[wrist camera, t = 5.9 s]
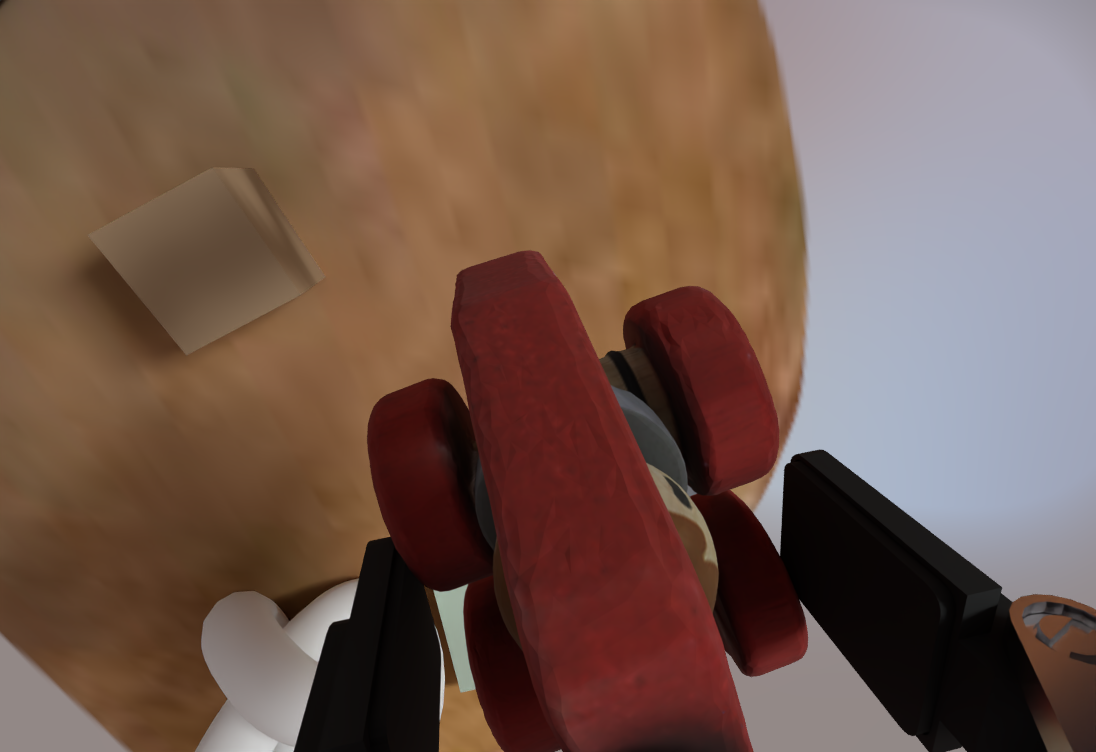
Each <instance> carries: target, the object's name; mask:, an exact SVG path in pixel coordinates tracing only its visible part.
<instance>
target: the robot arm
mask: <svg viewBox="0 0 1096 752" xmlns="http://www.w3.org/2000/svg"><path fill="white" fill-rule="evenodd" d="M0 1H1V0H0ZM780 557H781V559H782V561H783V563H784V565H785V567H786V569H787V571H788V574H789V576H790V578H791V581H792V583H793V585H794V588H795V590H796V592H797V594H798V598H799V600H800V601H801V602H802V603H803V605H804V606H805V607H806V608H807V609H808V611H809V612H810V613H811V615H812V616H813V617H814V618H815V620H816V621H817V622H818V624H819V625H820V626H821V627H822V629H823V630H824V631H825V633H826V634H827V635H828V636H829V638H830V639H831V640H832V641H833V643H834V644H835V645H836V646H837V648H838V649H839V650H840V651H841V653H842V654H843V655H844V656H845V658H846V659H847V660H848V661H849V663H850V664H851V665H852V667H853V668H854V669H855V671H857V673H858V674H859V676H860V677H861V678H862V679H863V680H864V682H865V683H866V684H867V686H868V687H869V688H870V690H871V691H872V692H873V693H874V694H875V696H876V697H877V698H878V699H879V701H880V702H881V703H882V704H883V706H884V707H885V708H886V710H887V711H888V712H889V714H890V715H891V716H892V717H893V719H894V720H895V721H896V722H897V724H898V725H899V726H900V727H901V728H902V730H904V732H906V733H907V734H908V735H911V736H915V735H916V737H917V738H918V739H919V740H920V741H921V743H922V744H923V745H924V746H925V748H926V749H927V750H928V751H929V752H946V751H950V750H954V749H957V748H961V747H962V746H963V748H964V749H965V750H966V751H967V752H1096V610H1095V609H1094V608H1092V607H1090V606H1087V605H1085V604H1082V603H1079V602H1076V601H1074V600H1071V599H1067V598H1062V597H1058V596H1053V595H1041V594H1033V595H1027V596H1022V597H1020V598H1018V599H1017V600H1016V601H1014V602H1012V601H1010V600H1009V599H1008V598H1006V597H1005V596H1004V595H1003V594H1001V590H1002V587H1001V586H1000V585H998V584H997V583H996V582H995V581H993V580H992V579H991V578H989V577H988V576H987V575H986V574H984V573H983V572H982V571H980V570H979V569H978V568H976V567H975V566H974V565H972V564H971V563H970V562H969V561H967V560H966V559H965V558H964V557H962V556H961V555H960V554H958V553H957V552H956V551H954V550H953V549H952V548H951V547H949V546H948V545H947V544H945V543H944V542H943V541H941V540H940V539H939V538H938V537H936V536H935V535H934V534H932V533H931V532H930V531H929V530H927V529H926V528H925V527H923V526H922V525H921V524H920V523H918V522H917V521H916V520H914V519H913V518H912V517H911V516H909V515H908V514H906V513H905V512H904V511H903V510H901V509H900V508H899V507H898V506H896V505H895V504H894V503H892V502H891V501H890V500H888V499H887V498H886V497H885V496H883V495H882V494H880V493H879V492H878V491H877V490H876V489H874V488H873V487H872V486H870V485H869V484H868V483H866V482H865V481H864V480H862V479H861V478H860V477H859V476H857V475H856V474H855V473H854V472H852V471H851V470H850V469H848V468H847V467H846V466H844V465H843V464H842V463H841V462H839V461H838V460H837V459H835V458H834V457H833V456H832V455H830V454H829V453H828V452H826V451H824V450H815V451H810V452H805V453H801V454H796V455H794V456H793V457H792V459H791V462H790V463H788V464H786V466H785V469H784V487H783V507H782V529H781V549H780ZM440 691H441V649H440V643H439V639H438V635H437V631H436V628H435V624H434V621H433V617H432V614H431V610H430V606H429V603H428V599H427V596H426V592H425V588H424V585H423V584H422V583H421V582H420V581H419V580H418V579H417V578H416V577H415V575H414V574H413V573H412V572H411V571H410V570H409V568H408V566H407V565H406V563H405V561H404V560H403V558H402V557H401V555H400V554H399V552H398V551H397V550H396V548H395V545H394V543H393V541H392V538H391V537H387V538H382V539H378V540H373V541H369V542H368V544H367V547H366V551H365V555H364V559H363V563H362V568H361V572H360V576H359V580H358V585H357V589H356V593H355V597H354V602H353V606H352V610H351V614H350V618H349V619H345V620H341V621H336V622H333V623H332V624H331V625H330V626H329V628H328V631H327V633H326V637H325V640H324V644H323V647H322V651H321V655H320V658H319V662H318V665H317V669H316V673H315V676H314V680H313V683H312V687H311V691H310V694H309V698H308V701H307V705H306V709H305V712H304V716H303V719H302V723H301V727H300V730H299V734H298V737H297V741H296V744H295V748H294V752H439V725H440Z"/></svg>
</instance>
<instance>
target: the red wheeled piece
mask: <svg viewBox="0 0 1096 752" xmlns="http://www.w3.org/2000/svg"><path fill="white" fill-rule="evenodd" d="M456 279H457V281H456V284H455V286H456V289H455V297H454V301H453V307H452V317H451V330H452V333H453V337H454V341H455V345H456V350H457V355H458V360H459V364H460V368H461V372H462V376H463V381H464V385H465V390H466V395H467V401H468V406H469V410H468V408H467V406H466V404H465V403H464V401H463V399H462V398H461V396H460V395H459V393H458V392H457V391H456V389H455V388H454V387H453V386H452V385H451V384H450V383H449V382H447V381H445V380H441V379H434V378H432V379H426V380H424V381H421V382H418V383H416V384H413V385H411V386H408V387H405V388H403V389H400V390H398V391H395V392H392V393H390V394H387V395H386V396H384V397H383V398H381V399H380V400H379V401H378V402H377V403H376V404H375V406H374V408H373V410H372V413H371V415H370V419H369V422H368V434H367V444H368V454H369V460H370V468H371V475H372V480H373V486H374V490H375V493H376V497H377V500H378V504H379V507H380V510H381V514H382V517H383V520H384V522H385V524H386V527H387V529H388V531H389V534H390V536H391V538H392V541H393V543H394V545H395V548H396V550H397V551H398V552H399V554H400V555H401V557H402V558H403V560H404V561H405V563H406V565H407V566H408V568H409V570H410V571H411V572H412V573H413V574H414V575H415V577H416V578H417V579H418V580H419V581H420V582H421V583H422V584H423V585H425V586H426V587H428V588H430V589H432V590H435V591H439V592H444V591H451V590H454V589H457V588H459V587H462V586H465V585H467V584H468V586H467V589H466V591H465V596H464V606H463V617H464V631H465V639H466V647H467V653H468V660H469V665H470V670H471V673H472V676H473V680H474V684H475V688H476V692H477V695H478V698H479V702H480V705H481V707H482V709H483V712H484V716H485V719H486V721H487V724H488V726H489V727H490V729H491V732H492V734H493V736H494V738H495V739H496V741H497V743H498V745H499V746H500V747H501V749H502V750H503V751H504V752H555V751H558V750H560V749H562V751H563V752H753V748H752V746H751V742H750V739H749V736H748V732H747V728H746V723H745V719H744V716H743V712H742V709H741V706H740V702H739V699H738V695H737V692H736V689H735V685H734V681H733V678H732V675H731V672H730V669H729V665H728V661H727V657H726V653H725V651H726V652H727V653H728V654H729V655H730V656H731V657H732V658H733V660H734V662H735V663H736V665H737V666H738V668H739V669H740V671H741V672H742V673H743V674H744V675H746V676H750V677H753V676H760V675H763V674H765V673H768V672H771V671H773V670H775V669H778V668H781V667H784V666H786V665H789V664H791V663H793V662H796V661H798V660H799V659H801V658H802V657H803V656H804V654H805V652H806V650H807V647H808V632H807V625H806V620H805V616H804V612H803V609H802V607H801V604H800V601H799V598H798V594H797V592H796V590H795V588H794V585H793V583H792V581H791V578H790V576H789V574H788V571H787V569H786V567H785V565H784V563H783V561H782V559H781V557H780V556H779V554H778V552H777V550H776V548H775V546H774V545H773V543H772V541H771V539H770V538H769V536H768V534H767V533H766V531H765V530H764V528H763V526H762V525H761V523H760V522H759V521H758V519H757V518H756V517H755V515H754V514H753V512H752V511H751V510H750V509H749V507H748V506H747V505H746V504H745V503H744V502H743V501H742V500H741V499H740V498H739V497H738V496H737V495H735V494H734V493H733V492H732V491H731V490H730V489H733V488H736V487H739V486H741V485H744V484H747V483H750V482H753V481H755V480H757V479H759V478H761V477H763V476H764V475H766V474H767V473H769V471H770V470H771V468H772V467H773V465H774V463H775V461H776V458H777V453H778V448H779V426H778V418H777V413H776V410H775V408H774V404H773V400H772V396H771V394H770V391H769V389H768V386H767V383H766V379H765V377H764V374H763V372H762V369H761V367H760V364H759V362H758V359H757V357H756V355H755V352H754V350H753V348H752V347H751V345H750V343H749V340H748V338H747V336H746V334H745V332H744V331H743V330H742V328H741V326H740V324H739V323H738V321H737V320H736V318H735V316H734V315H733V314H732V313H731V311H730V310H729V309H728V308H727V307H726V306H725V305H724V304H723V303H722V302H721V301H720V300H719V299H718V298H717V297H715V296H714V295H713V294H712V293H711V292H709V291H708V290H705V289H703V288H701V287H697V286H687V287H680V288H677V289H674V290H672V291H669V292H666V293H663V294H660V295H658V296H655V297H652V298H649V299H646V300H643V301H641V302H639V303H638V304H636V305H634V306H632V307H631V308H630V310H629V311H628V312H627V314H626V316H625V320H624V325H623V338H624V341H625V346H626V350H623V351H610V352H608V353H607V354H606V355H605V357H604V358H601V359H598V357H597V354H596V352H595V350H594V348H593V346H592V344H591V341H590V339H589V337H588V335H587V333H586V330H585V328H584V326H583V324H582V322H581V319H580V317H579V315H578V313H577V311H576V308H575V306H574V304H573V302H572V300H571V298H570V296H569V294H568V292H567V290H566V289H565V288H564V286H563V285H562V283H561V282H560V280H559V279H558V278H557V277H556V275H555V274H554V272H553V271H552V270H551V269H550V267H549V266H548V264H547V263H546V261H545V260H544V258H543V256H542V255H541V254H540V253H539V252H535V251H530V250H529V251H521V252H517V253H513V254H510V255H507V256H504V257H500V258H497V259H494V260H491V261H487V262H484V263H481V264H478V265H475V266H471V267H469V268H466V269H464V270H462V271H460V272H459V274H458V275H457V278H456ZM688 486H689V487H691V488H692V490H693V491H694V492H696V493H697V494H695V495H692V496H689V495H688V494H687V489H688Z"/></svg>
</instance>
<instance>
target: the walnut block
mask: <svg viewBox="0 0 1096 752" xmlns="http://www.w3.org/2000/svg"><path fill="white" fill-rule="evenodd" d="M88 236H89V238H90V239H91V240H92V241H93V242H94V244H95V245H96V246H97V247H98V249H99V250H100V251H101V252H102V253H103V255H104V256H105V257H106V258H107V259H108V261H109V262H110V263H111V264H112V266H113V267H114V268H115V269H116V270H117V272H118V273H119V274H120V275H121V277H122V278H123V279H124V280H125V281H126V283H127V284H128V285H129V286H130V287H131V289H132V290H133V291H134V292H135V294H136V295H137V296H138V297H139V298H140V300H141V301H142V302H143V303H144V304H145V306H146V307H147V308H148V309H149V311H150V312H151V313H152V314H153V315H154V317H155V318H156V319H157V320H158V321H159V323H160V324H161V325H162V326H163V328H164V329H165V330H166V331H167V332H168V334H169V335H170V336H171V337H172V339H173V340H174V341H175V342H176V343H177V345H178V346H179V347H180V348H181V349H182V351H183V352H184V353H185V354H186V355H188V354H190V353H192V352H194V351H196V350H198V349H200V348H201V347H203V346H205V345H207V344H209V343H211V342H213V341H215V340H217V339H219V338H220V337H222V336H224V335H226V334H228V333H230V332H232V331H234V330H236V329H237V328H239V327H241V326H243V325H245V324H247V323H249V322H251V321H253V320H254V319H256V318H258V317H260V316H262V315H264V314H266V313H268V312H270V311H272V310H273V309H275V308H277V307H279V306H281V305H283V304H285V303H287V302H289V301H290V300H292V299H294V298H296V297H298V296H300V295H302V294H303V293H304V292H306V291H307V290H309V289H310V288H311V287H313V286H314V285H315V284H317V283H318V282H320V281H321V280H322V279H324V278H325V277H326V276H325V275H324V273H323V272H322V270H321V269H320V267H319V266H318V264H317V263H316V261H315V260H314V258H313V257H312V255H311V254H310V252H309V251H308V249H307V248H306V246H305V245H304V243H303V242H302V240H301V239H300V237H299V236H298V234H297V233H296V231H295V230H294V228H293V227H292V225H291V224H290V222H289V221H288V219H287V218H286V216H285V215H284V213H283V212H282V210H281V209H280V207H279V206H278V204H277V203H276V201H275V199H274V198H273V196H272V195H271V193H270V192H269V190H268V189H267V187H266V186H265V184H264V183H263V181H262V180H261V178H260V177H259V175H258V174H257V172H256V171H255V169H250V168H219V167H212V168H210V169H208V170H207V171H205V172H203V173H201V174H199V175H197V176H196V177H194V178H192V179H190V180H188V181H186V182H184V183H183V184H181V185H179V186H177V187H175V188H173V189H172V190H170V191H168V192H166V193H164V194H162V195H160V196H159V197H157V198H155V199H153V200H151V201H149V202H148V203H146V204H144V205H142V206H140V207H138V208H136V209H135V210H133V211H131V212H129V213H127V214H125V215H124V216H122V217H120V218H118V219H116V220H114V221H113V222H111V223H109V224H107V225H105V226H103V227H101V228H100V229H98V230H96V231H94V232H92V233H90V234H89V235H88Z"/></svg>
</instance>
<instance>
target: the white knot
mask: <svg viewBox="0 0 1096 752" xmlns="http://www.w3.org/2000/svg"><path fill="white" fill-rule="evenodd" d="M358 580H359V578H358V579H354V580H350V581H346V582H344V583H341V584H339V585H336V586H334V587H332V588H331V589H329V590H327V591H325V592H324V593H323V594H321V595H320V596H318V597H317V598H316V599H314V600H313V601H312V602H311V603H310V604H309V605H307V606H306V607H305V608H304V609H303V610H302V611H300V612H299V613H298V614H297V615H296V616H295V617H294V618H293V619H292V620H291V621H289V620H288V618H287V617H286V615H285V614H284V613H283V611H282V610H281V609H280V608H279V607H278V605H277V604H276V603H275V602H273V601H272V600H271V599H269V598H267V597H265V596H264V595H262V594H260V593H258V592H256V591H244V592H234V593H232V594H230V595H228V596H227V597H225V598H223V599H221V600H219V601H218V602H217V603H216V604H215V606H214V607H213V608H212V610H211V611H210V613H209V614H208V615H207V617H206V618H205V620H204V622H203V630H202V638H201V649H202V652H203V656H204V659H205V661H206V664H207V666H208V668H209V670H210V672H211V674H212V676H213V677H214V679H215V680H216V682H217V684H218V685H219V687H220V688H221V690H222V691H223V693H224V694H225V696H226V697H227V701H226V702H225V704H224V705H223V706H222V708H221V709H220V711H219V712H218V714H217V715H216V717H215V718H214V720H213V721H212V723H211V725H210V726H209V728H208V729H207V731H206V733H205V734H204V736H203V738H202V740H201V741H200V743H199V745H198V747H197V749H196V751H195V752H294V748H295V744H296V741H297V737H298V734H299V730H300V727H301V723H302V719H303V716H304V712H305V709H306V705H307V701H308V698H309V694H310V691H311V687H312V683H313V680H314V676H315V673H316V669H317V665H318V662H319V658H320V655H321V651H322V647H323V644H324V640H325V637H326V633H327V631H328V628H329V626H330V625H331V624H332V623H333V622H336V621H341V620H345V619H349V618H350V614H351V610H352V606H353V602H354V597H355V593H356V589H357V585H358ZM435 628H436V627H435ZM436 631H437V629H436ZM437 635H438V632H437ZM438 639H439V636H438ZM439 643H440V640H439ZM440 649H441V691H440V718H441V713H442V708H443V700H444V685H445V673H444V661H443V652H442V648H441V644H440Z"/></svg>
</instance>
